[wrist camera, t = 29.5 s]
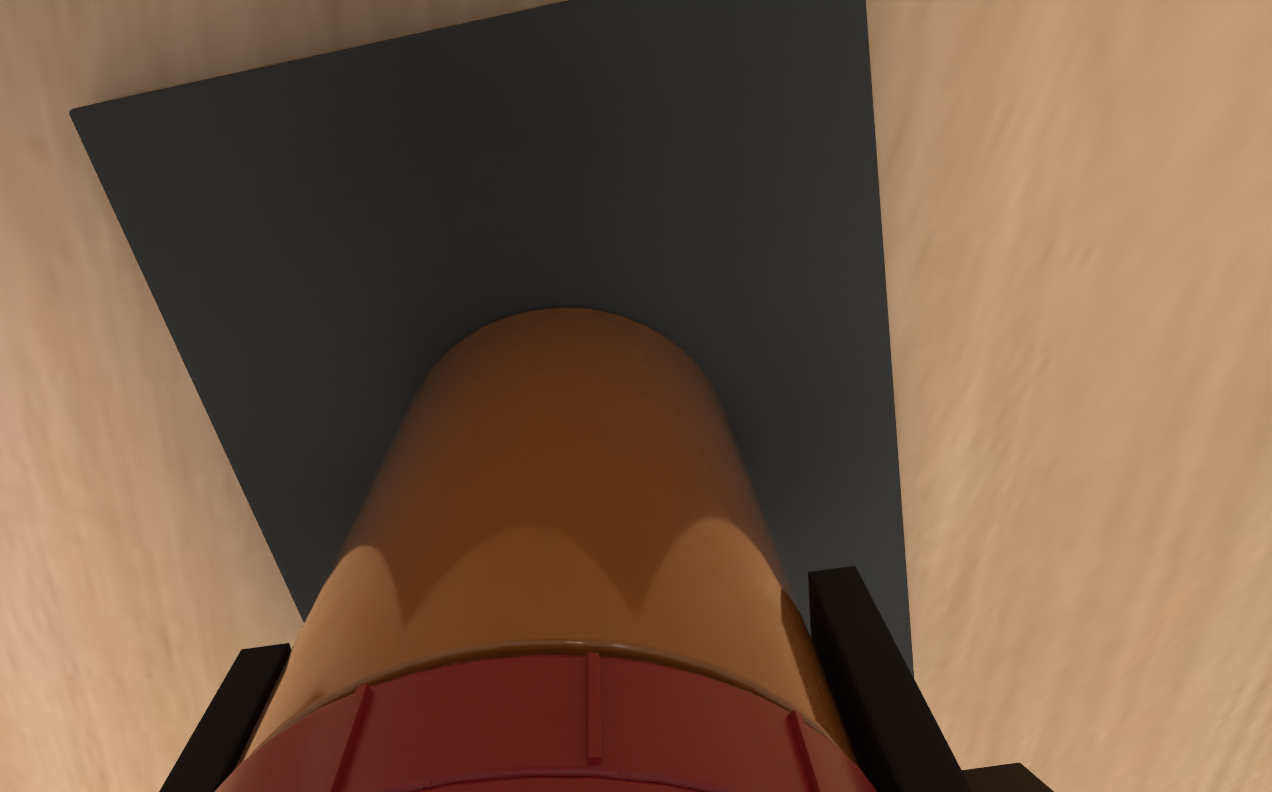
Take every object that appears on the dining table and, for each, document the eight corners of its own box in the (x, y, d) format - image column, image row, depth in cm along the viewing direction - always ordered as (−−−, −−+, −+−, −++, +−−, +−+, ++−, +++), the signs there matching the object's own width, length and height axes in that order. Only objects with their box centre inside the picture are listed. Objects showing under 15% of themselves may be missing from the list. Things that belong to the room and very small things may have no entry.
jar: (703, 273, 18) (916, 686, 6) (751, 563, 21) (949, 1179, 10) (354, 345, 18) (-45, 873, 7) (456, 621, 21) (307, 1293, 10)
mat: (847, -58, 16) (862, -64, 15) (904, 680, 24) (916, 705, 23) (93, 107, 17) (64, 109, 16) (394, 777, 25) (386, 805, 24)
